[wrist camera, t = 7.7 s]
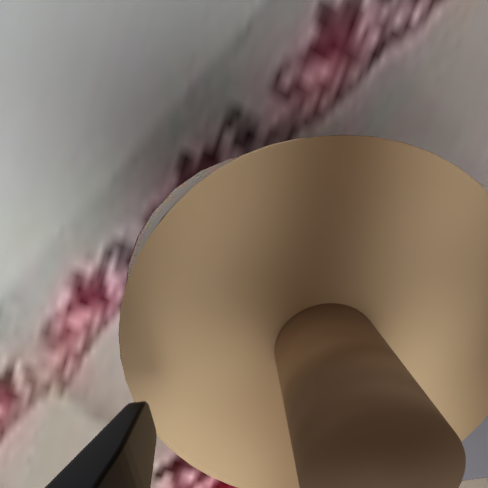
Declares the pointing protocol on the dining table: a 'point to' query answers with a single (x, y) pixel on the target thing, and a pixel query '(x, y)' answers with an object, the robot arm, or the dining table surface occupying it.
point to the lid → (316, 318)
